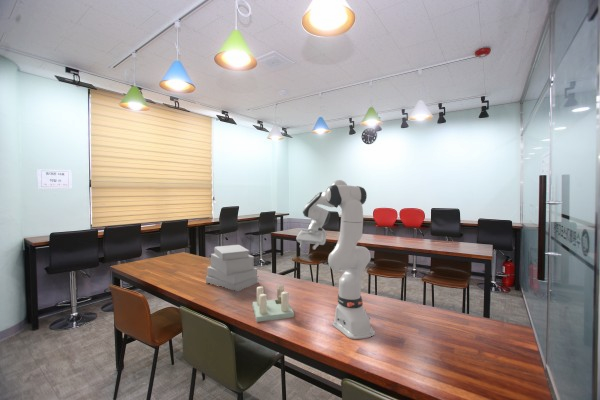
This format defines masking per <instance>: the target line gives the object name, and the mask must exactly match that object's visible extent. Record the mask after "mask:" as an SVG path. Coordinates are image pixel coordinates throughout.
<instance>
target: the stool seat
mask: <svg viewBox="0 0 600 400" xmlns="http://www.w3.org/2000/svg"><path fill="white" fill-rule="evenodd" d="M264 292H265V291H264V286H257V287H256V301H252V309H253V313H254V316H255V317H254V318H255V322H256V323H258V322H266V321H267V322H268V321H273V320H282V319H288V318H289V319H291V318H294V317H295V312H294V310H293V309H292V306H291V305H290V303H289V299H290V298H289V293H290V292H288V291H284V292H282V293H281V304H277V298H275V299H268V294H265V293H264Z"/></svg>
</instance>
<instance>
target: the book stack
mask: <svg viewBox="0 0 600 400" xmlns="http://www.w3.org/2000/svg"><path fill="white" fill-rule="evenodd" d="M213 249H214V250H213V251H214V253H210V266H207V268H206V272H207V273H206V274H207V276H205V284H208V283H210V284H209V285H212V284H214V285H213V286H215V285H218V286H217V287H219V286H222V287H221V288H223V287H225V288H224V289H227V288H228V289H227V290H231V291H234V290H235V291H234V292H240V291H242V289H243V290H244V288H245V289H247V288H249V287H251V285H252V286H254V285H256V284H258V283H259V281H258V280H259V279H258V278H259V275H258V270H259V268H257V267H255V266H254V258H255V256H253V255H251V254H249V252H250V250H249V249H247V248H245V247H244V246H242V245H240V244H230V245H219V246H218V245H217V246H214V248H213ZM253 284H254V285H253ZM246 287H247V288H246Z"/></svg>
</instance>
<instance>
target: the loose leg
mask: <svg viewBox="0 0 600 400" xmlns="http://www.w3.org/2000/svg"><path fill="white" fill-rule="evenodd" d="M282 292H285V285H284V284H277V285H276V294H277V295H276V299H277V304H281V293H282Z"/></svg>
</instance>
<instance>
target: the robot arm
mask: <svg viewBox="0 0 600 400" xmlns="http://www.w3.org/2000/svg"><path fill="white" fill-rule="evenodd" d="M367 196H368V195H367V191H366V189H365V188H364V187H362V186H359V185H348V184H347V183H346V181H344V180H341V179H337V180H335V181H333V182H332V183H331V184H330V185H329V186H328V187H327V189H326V190H325V191H320V192H318V193H317V194H315V196H314V197H312V199H311V200H310V201H309V202H307V203H306V204H305V205H304V207H303V209H302V214H303V216H304V217H305V218H309V219H310V224H309V226H308V227H307V229H306V230H304V229H302V230H300V231H299V233H298V234H297V236H296V238H295V239H296V241H297V243H299V244H300V245H299V248H300V249H303V247H304V245H303V244H310V245H311V244H312V245H313V246H312V250H316V249H317V247H319V245H320V246H324V245H325V244H326V241H327V232H326V230H325V229H324V228H323V227H324V226H325V225H327V224H328V223H329V222H330V221H329V220H330V218H331V212H330V211H329V210H327V209H326V208H323V207H321V206H319V205H322V206H324V207H328V208H336V209H337V208H338V207H340V208H341V214H340V229H339V237H338V239H337V242H336V245H335V247H334V248H333V249H332V251H331V252H330V253H329V254H328V257H327V262H328V265H329V267H330V269H331V270H332V271H335V272H343V274H342V275H341V276H340V277H339V280H338V294H337V305H336V307H335V311H334V312H335V313H334V321H332V323H331V324H332V327H334V328H336V330H338V331H339V332H341V333H342V334H343V335H344V336H345V337H347V338H348V339H353V340H359V339H361V340H362V339H367V338H371V336H372V337H373V335H374V336H375V335H376V331H375V330H374V328H373V327H372V325H371V322H370V320H371V315H370V314H367V312H366V309H365V308H364V306H363V305H364V302H363V298H362V295H361V294H362V293H361V292H362V289H361V287H362V279H363V275H364V272H365V270H366V267H367V266H368V264H369V263H370V261H371V260H372V259H371V252H370V250H369V249H368V248H367V247H366V246H362V245H361V246H360V245H357V244H358V243H359V241H360V240H361V239H362V237H363V231H364V230H363V229H364V226H363V225H364V209H363V205H364V204H365V203H366V201H367Z"/></svg>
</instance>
